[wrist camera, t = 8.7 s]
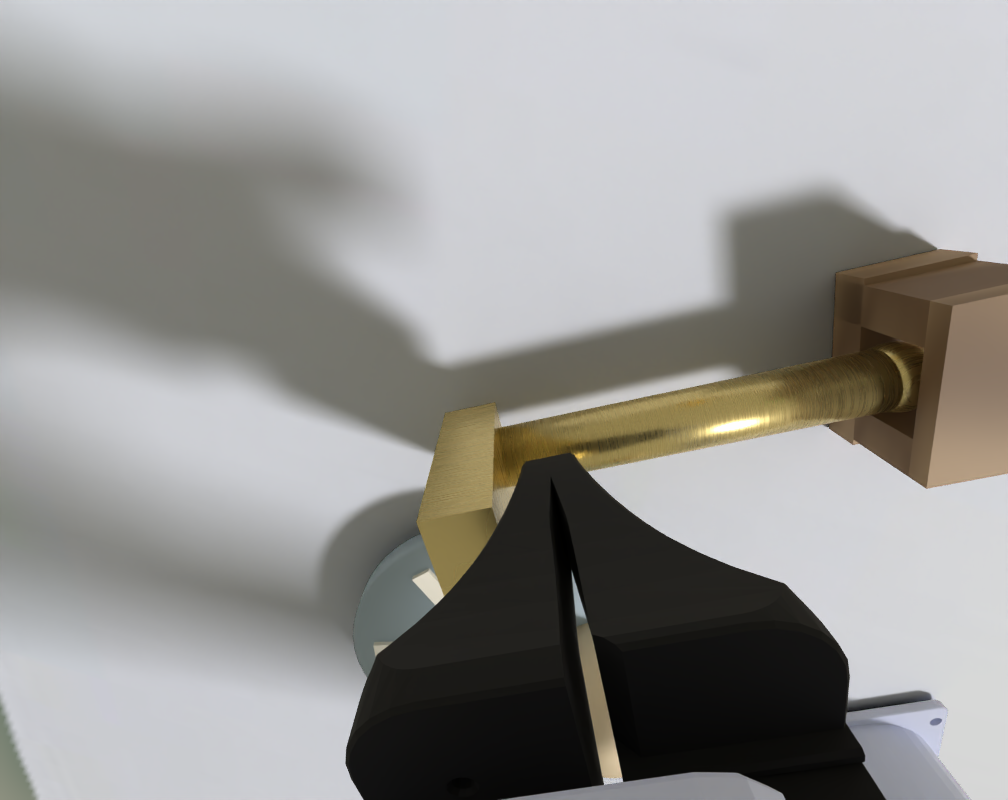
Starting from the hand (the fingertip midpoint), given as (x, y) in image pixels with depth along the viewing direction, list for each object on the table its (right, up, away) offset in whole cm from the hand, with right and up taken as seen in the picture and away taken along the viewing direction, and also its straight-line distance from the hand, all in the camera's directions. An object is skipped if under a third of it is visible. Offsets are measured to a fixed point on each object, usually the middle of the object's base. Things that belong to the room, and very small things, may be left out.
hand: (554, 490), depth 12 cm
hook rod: (+4, +2, +3) cm, 5 cm away
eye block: (+11, +4, +3) cm, 12 cm away
